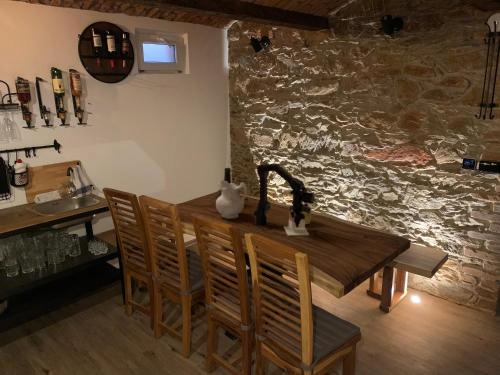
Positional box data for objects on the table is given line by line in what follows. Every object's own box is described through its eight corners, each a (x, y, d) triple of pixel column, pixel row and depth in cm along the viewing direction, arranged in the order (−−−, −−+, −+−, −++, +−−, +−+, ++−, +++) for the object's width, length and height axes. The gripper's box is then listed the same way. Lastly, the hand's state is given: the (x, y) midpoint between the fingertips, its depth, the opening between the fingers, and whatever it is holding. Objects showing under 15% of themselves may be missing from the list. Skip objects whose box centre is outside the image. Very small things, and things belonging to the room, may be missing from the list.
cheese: (300, 226, 251) (300, 212, 248) (288, 222, 259) (288, 207, 257) (311, 223, 258) (311, 208, 255) (299, 219, 266) (299, 204, 263)
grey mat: (287, 235, 236) (287, 234, 236) (283, 227, 249) (283, 226, 249) (309, 235, 237) (309, 234, 237) (303, 226, 251) (303, 226, 251)
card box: (301, 224, 246) (301, 217, 245) (304, 227, 241) (305, 220, 240) (288, 226, 244) (288, 218, 243) (291, 229, 239) (292, 221, 238)
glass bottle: (217, 209, 284) (217, 171, 276) (213, 202, 300) (213, 166, 293) (241, 207, 288) (242, 170, 281) (236, 200, 305) (236, 165, 298)
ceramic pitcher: (248, 214, 277) (249, 179, 273) (245, 221, 258) (246, 184, 254) (218, 212, 279) (218, 178, 275) (213, 220, 260) (213, 183, 256)
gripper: (314, 205, 230) (312, 230, 234) (306, 196, 248) (305, 220, 252) (295, 206, 229) (294, 231, 233) (289, 197, 247) (288, 220, 251)
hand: (296, 225), depth 242 cm, fingers closed on card box, 6 cm apart
